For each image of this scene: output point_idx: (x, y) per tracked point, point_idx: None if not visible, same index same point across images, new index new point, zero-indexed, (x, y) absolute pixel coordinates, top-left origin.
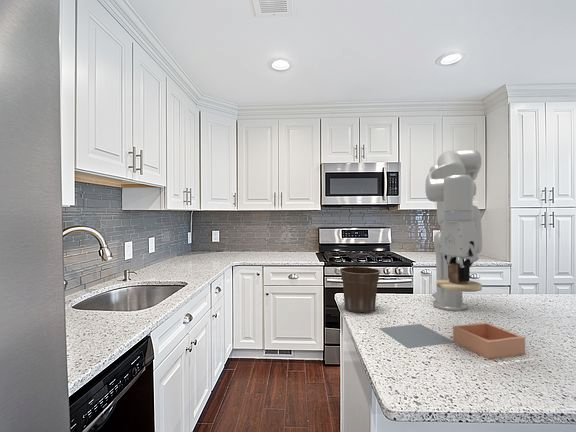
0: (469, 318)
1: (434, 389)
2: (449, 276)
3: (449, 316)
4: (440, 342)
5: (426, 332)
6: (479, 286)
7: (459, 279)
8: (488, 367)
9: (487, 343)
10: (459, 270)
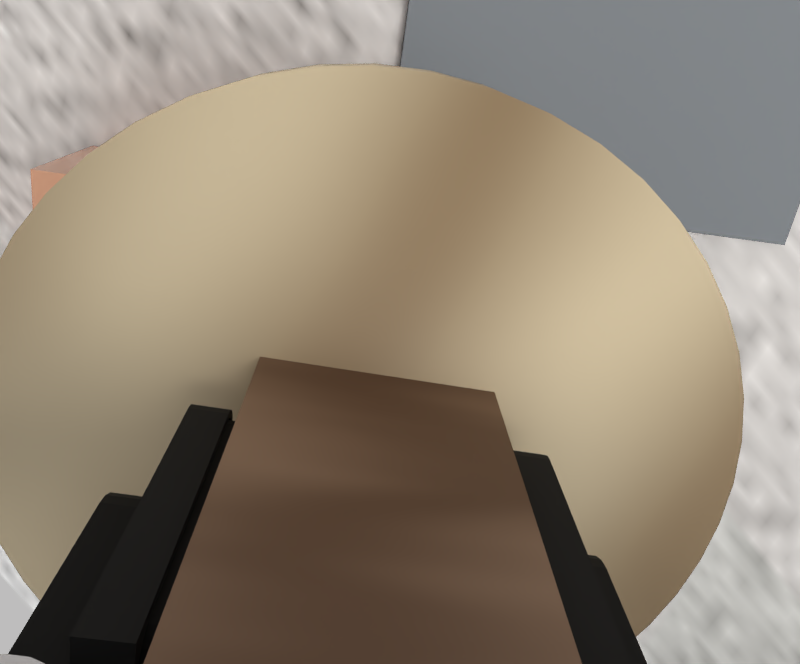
0: (662, 650)
1: None
2: (502, 453)
3: (765, 578)
4: (428, 69)
5: (628, 137)
6: (3, 542)
7: (200, 419)
8: (20, 61)
9: (44, 168)
10: (118, 562)
